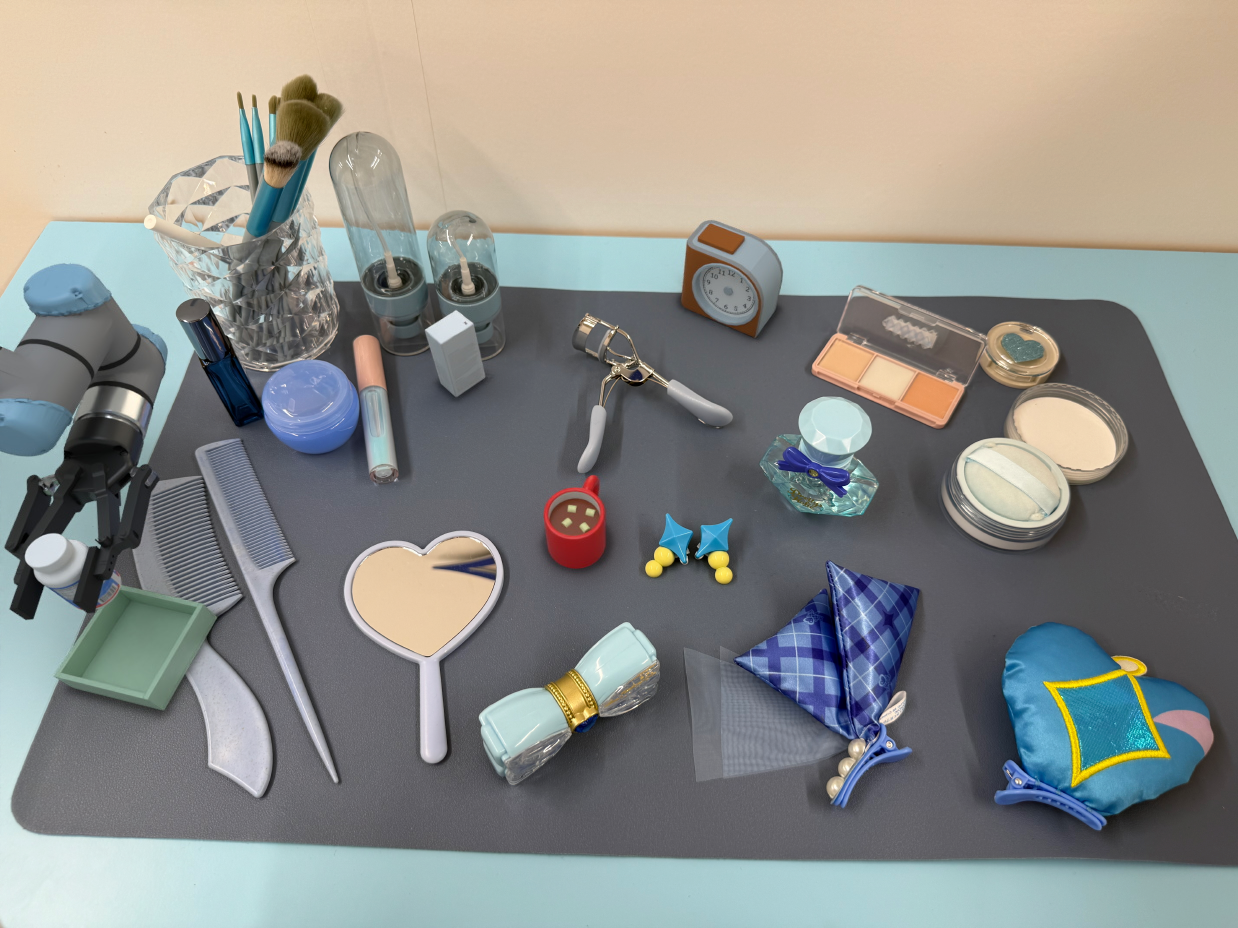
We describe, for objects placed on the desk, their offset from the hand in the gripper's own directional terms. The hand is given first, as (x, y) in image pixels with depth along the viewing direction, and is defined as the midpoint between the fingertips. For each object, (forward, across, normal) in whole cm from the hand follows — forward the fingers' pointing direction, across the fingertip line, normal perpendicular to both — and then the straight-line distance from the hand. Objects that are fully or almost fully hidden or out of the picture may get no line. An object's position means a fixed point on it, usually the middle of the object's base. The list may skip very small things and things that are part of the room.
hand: (52, 610), depth 79 cm
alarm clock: (-53, -84, -18) cm, 101 cm away
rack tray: (-2, 0, -18) cm, 18 cm away
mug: (-13, -56, -18) cm, 60 cm away
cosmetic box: (-42, -40, -18) cm, 61 cm away
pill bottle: (-5, 0, -6) cm, 8 cm away
